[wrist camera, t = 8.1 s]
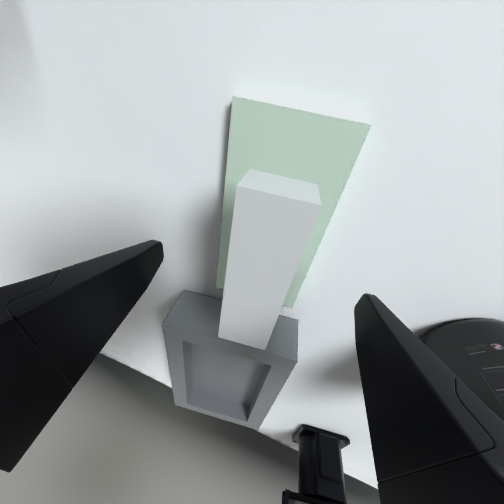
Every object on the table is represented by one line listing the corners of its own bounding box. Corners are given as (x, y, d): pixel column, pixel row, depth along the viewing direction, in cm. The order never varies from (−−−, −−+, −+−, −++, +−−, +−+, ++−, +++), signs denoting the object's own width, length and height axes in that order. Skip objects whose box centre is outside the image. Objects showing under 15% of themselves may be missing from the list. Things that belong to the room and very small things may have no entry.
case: (262, 396, 27) (257, 430, 24) (188, 374, 27) (175, 404, 25) (298, 320, 17) (297, 361, 15) (183, 289, 18) (161, 323, 15)
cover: (292, 298, 17) (288, 377, 12) (219, 279, 17) (186, 348, 12) (365, 123, 10) (430, 140, 5) (238, 97, 10) (176, 87, 5)
